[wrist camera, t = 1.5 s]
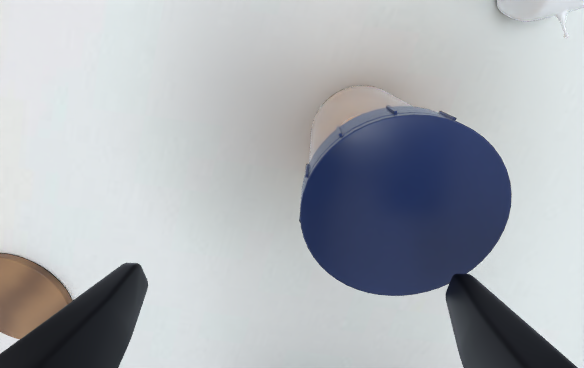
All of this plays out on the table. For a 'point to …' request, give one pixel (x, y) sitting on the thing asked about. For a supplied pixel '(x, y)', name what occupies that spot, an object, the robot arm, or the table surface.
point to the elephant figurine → (539, 9)
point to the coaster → (27, 295)
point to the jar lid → (403, 201)
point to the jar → (348, 110)
